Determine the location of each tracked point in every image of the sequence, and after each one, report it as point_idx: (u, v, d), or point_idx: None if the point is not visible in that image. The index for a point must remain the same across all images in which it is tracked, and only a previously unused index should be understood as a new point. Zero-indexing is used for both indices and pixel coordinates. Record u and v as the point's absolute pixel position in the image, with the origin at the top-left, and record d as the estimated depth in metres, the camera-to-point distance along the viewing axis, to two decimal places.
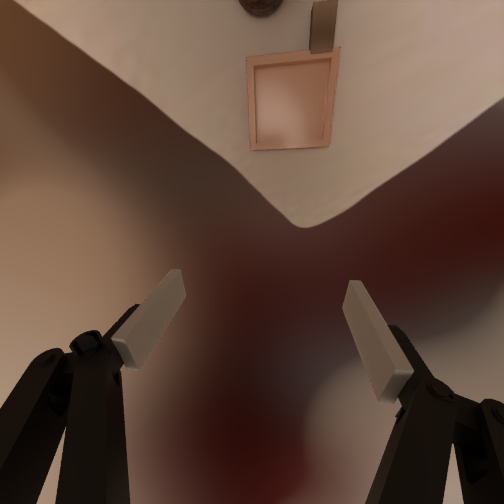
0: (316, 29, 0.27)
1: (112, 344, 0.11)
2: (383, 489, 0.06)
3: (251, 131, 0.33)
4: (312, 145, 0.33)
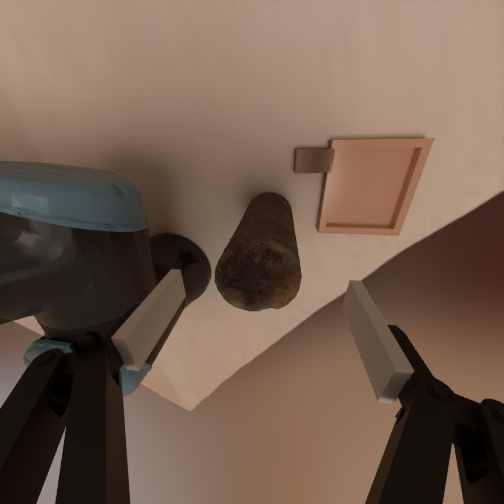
0: (313, 167, 0.28)
1: (112, 344, 0.11)
2: (383, 489, 0.06)
3: (380, 232, 0.31)
4: (423, 161, 0.26)
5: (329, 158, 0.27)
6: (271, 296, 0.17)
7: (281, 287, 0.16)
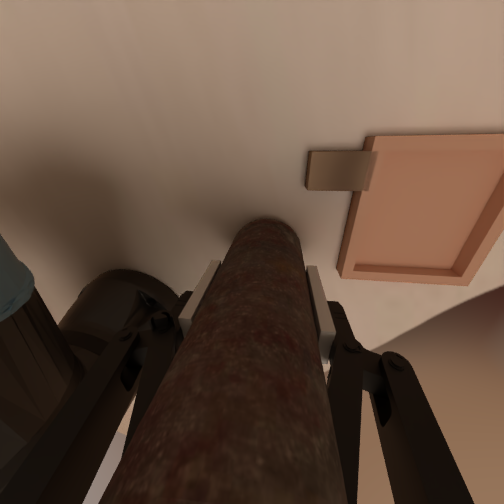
0: (338, 183, 0.17)
1: (177, 324, 0.12)
2: None
3: (438, 281, 0.20)
4: None
5: (366, 167, 0.16)
6: None
7: None
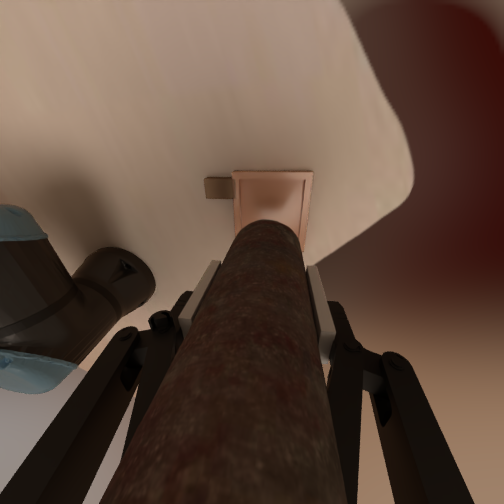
0: (220, 194, 0.32)
1: (177, 324, 0.12)
2: None
3: None
4: (309, 191, 0.30)
5: (232, 187, 0.31)
6: None
7: None
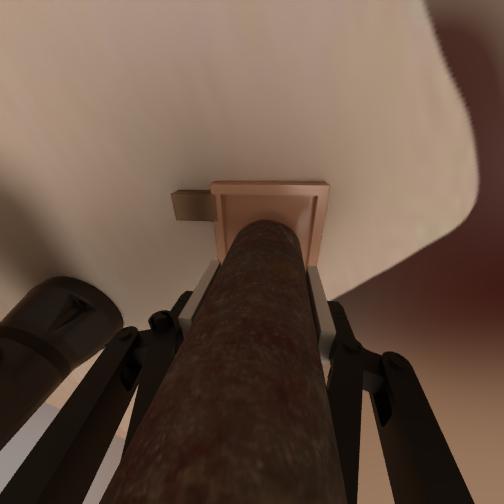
0: (196, 215, 0.22)
1: (177, 324, 0.12)
2: None
3: None
4: (323, 211, 0.20)
5: (211, 205, 0.22)
6: None
7: None
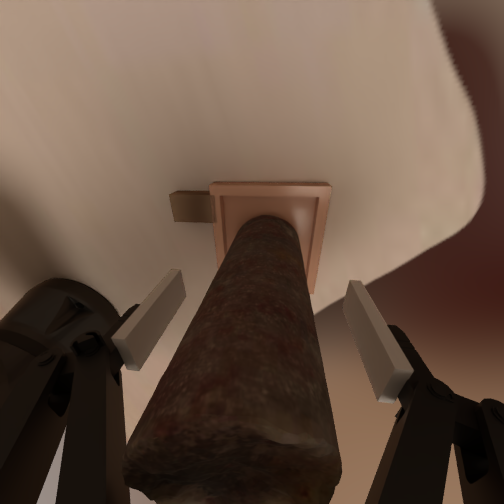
0: (194, 216, 0.22)
1: (112, 344, 0.11)
2: (383, 489, 0.06)
3: None
4: (324, 213, 0.20)
5: (210, 206, 0.21)
6: (266, 497, 0.07)
7: (290, 490, 0.07)
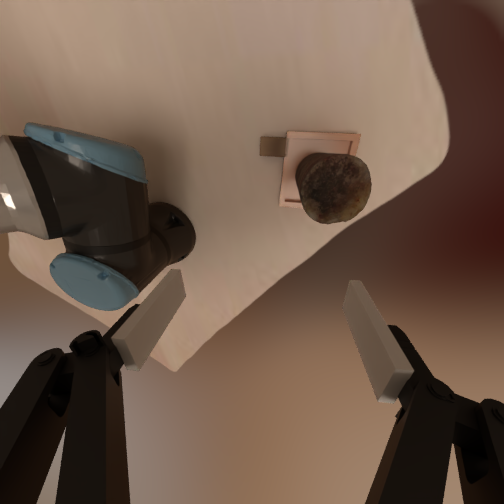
0: (273, 152, 0.36)
1: (112, 344, 0.11)
2: (383, 489, 0.06)
3: None
4: (354, 151, 0.34)
5: (285, 145, 0.35)
6: (342, 209, 0.21)
7: (352, 200, 0.21)
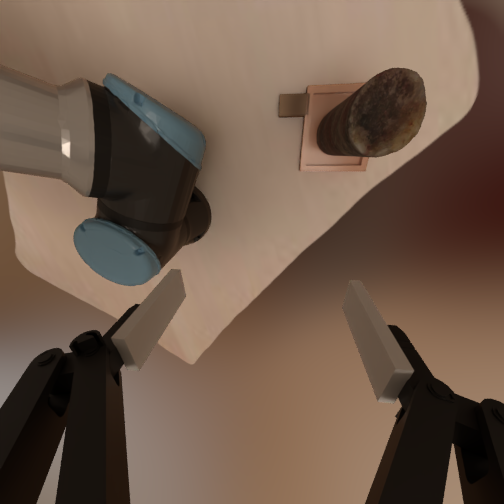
0: (293, 111, 0.34)
1: (112, 344, 0.11)
2: (383, 489, 0.06)
3: (350, 169, 0.37)
4: None
5: None
6: (393, 136, 0.20)
7: (405, 125, 0.19)
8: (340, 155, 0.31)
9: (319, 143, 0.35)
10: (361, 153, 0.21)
